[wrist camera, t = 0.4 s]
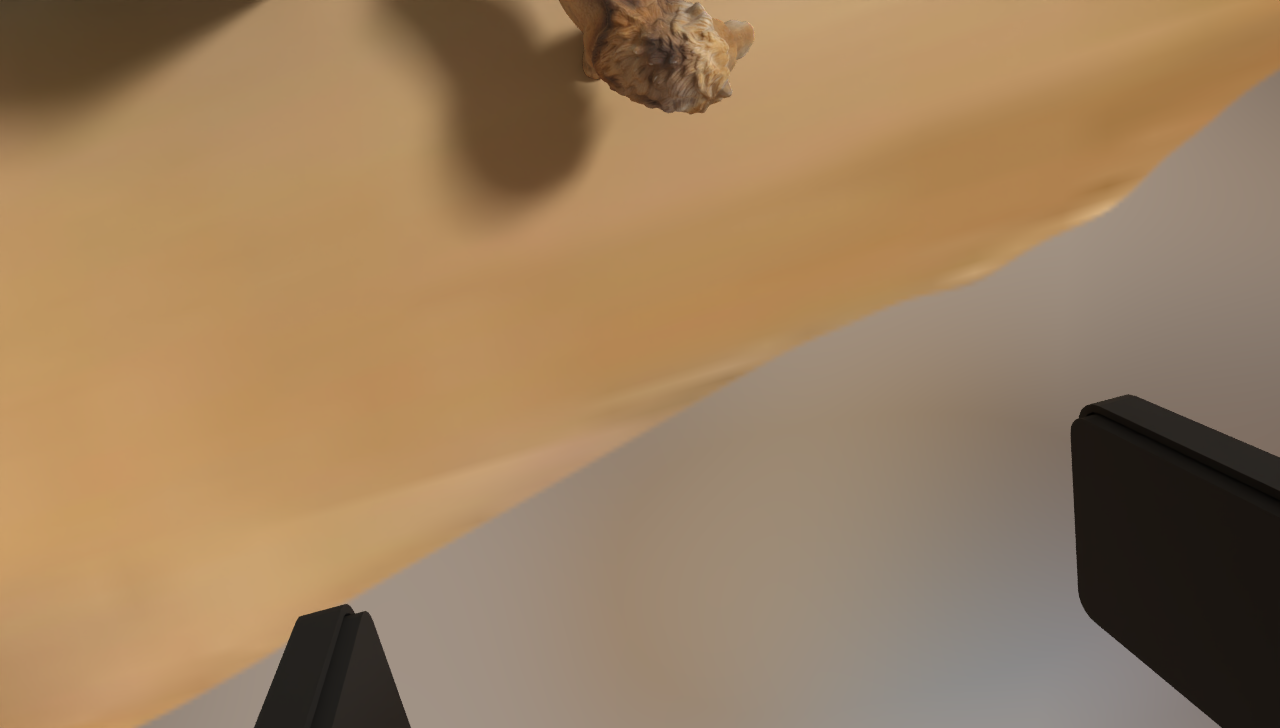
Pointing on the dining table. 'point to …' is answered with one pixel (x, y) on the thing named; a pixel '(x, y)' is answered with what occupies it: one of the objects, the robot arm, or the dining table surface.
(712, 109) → the dining table surface
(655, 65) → the lion figurine
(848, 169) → the dining table surface
